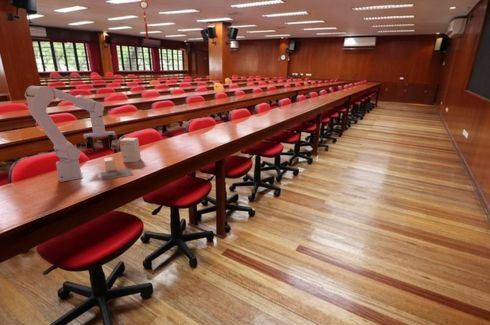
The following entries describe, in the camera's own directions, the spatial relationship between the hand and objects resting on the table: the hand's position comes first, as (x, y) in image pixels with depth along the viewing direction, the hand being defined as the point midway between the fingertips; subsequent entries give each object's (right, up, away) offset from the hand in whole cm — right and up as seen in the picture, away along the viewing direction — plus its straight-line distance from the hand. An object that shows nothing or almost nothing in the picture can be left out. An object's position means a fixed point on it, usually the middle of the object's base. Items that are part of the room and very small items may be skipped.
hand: (102, 149), depth 146 cm
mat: (+11, -13, -8) cm, 19 cm away
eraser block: (+5, -10, 0) cm, 11 cm away
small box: (+11, -6, +12) cm, 17 cm away
